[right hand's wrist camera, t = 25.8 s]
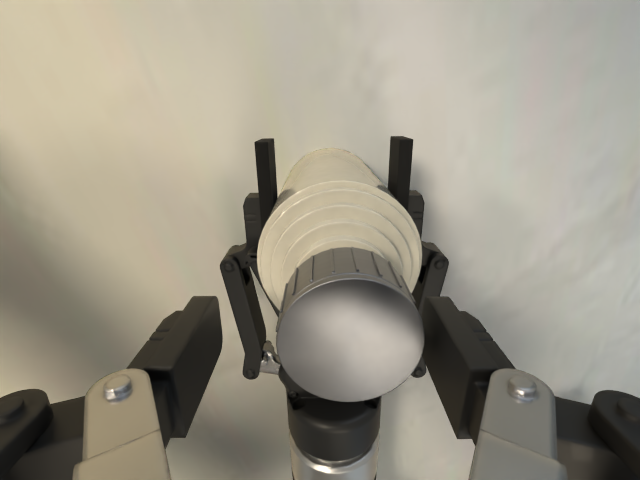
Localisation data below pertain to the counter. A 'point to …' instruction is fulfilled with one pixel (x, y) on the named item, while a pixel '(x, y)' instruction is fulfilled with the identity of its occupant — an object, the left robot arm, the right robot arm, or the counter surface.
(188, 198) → the counter surface
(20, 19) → the counter surface
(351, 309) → the cap
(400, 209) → the ribbed frosted cylinder
